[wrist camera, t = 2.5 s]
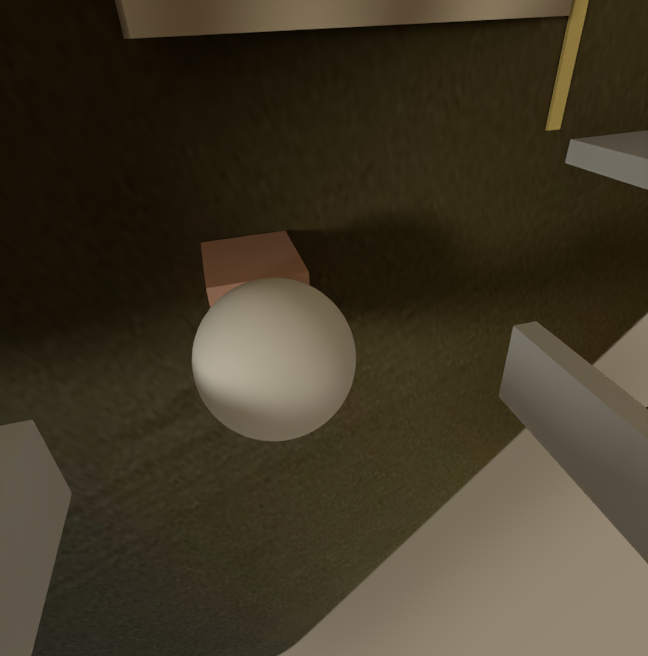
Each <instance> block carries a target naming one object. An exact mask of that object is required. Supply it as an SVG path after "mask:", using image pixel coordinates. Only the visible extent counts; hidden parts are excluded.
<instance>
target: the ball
mask: <svg viewBox="0 0 648 656" xmlns="http://www.w3.org/2000/svg"><path fill="white" fill-rule="evenodd" d="M355 367H356V351H355V344H354V340H353V336H352V332H351V330H350V328H349V325H348V323H347V321H346V319H345V317H344V316H343V314H342V313H341V311H340V310H339V309H338V307H337V306H336V305H335V304H334V303H333V302H332V301H331V300H330V299H329V298H328V297H326V296H325V295H324V294H323V293H322V292H320V291H319V290H317V289H315V288H314V287H312V286H309V285H307V284H305V283H302V282H299V281H296V280H292V279H286V278H264V279H258V280H253V281H250V282H247V283H244V284H242V285H240V286H238V287H236V288H234V289H232V290H230V291H229V292H227V293H226V294H224V295H223V296H222V297H221V298H220V299H218V300H217V301H216V302H215V303H214V305H213V306H212V307H211V308H210V309H209V311H208V312H207V314H206V315H205V316H204V318H203V320H202V322H201V323H200V325H199V327H198V331H197V334H196V337H195V340H194V344H193V350H192V369H193V375H194V381H195V384H196V387H197V389H198V392H199V394H200V396H201V398H202V400H203V402H204V403H205V405H206V406H207V408H208V409H209V410H210V412H211V413H212V414H213V415H214V416H215V417H216V418H217V419H218V420H219V421H220V422H221V423H223V424H224V425H225V426H227V427H228V428H230V429H231V430H233V431H235V432H237V433H239V434H241V435H243V436H246V437H249V438H253V439H258V440H264V441H284V440H289V439H294V438H297V437H301V436H303V435H306V434H308V433H310V432H312V431H314V430H316V429H317V428H319V427H320V426H322V425H323V424H324V423H326V422H327V421H328V420H329V419H330V418H331V417H332V416H333V415H334V414H335V413H336V412H337V410H338V409H339V408H340V407H341V405H342V404H343V402H344V400H345V399H346V397H347V395H348V393H349V391H350V388H351V385H352V382H353V378H354V373H355Z"/></svg>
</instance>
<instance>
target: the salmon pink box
mask: <svg viewBox="0 0 648 656" xmlns="http://www.w3.org/2000/svg"><path fill="white" fill-rule="evenodd" d="M201 252H202V260H203V268H204V276H205V284H206V291H207V295H208V300H209V305H210V308H211V307H212V306H213V305H214V303H215V302H216V301H217V300H218V299H220V298H221V297H222V296H223V295H224V294H226V293H227V292H229V291H230V290H232V289H234V288H236V287H238V286H240V285H242V284H244V283H247V282H250V281H253V280H258V279H264V278H286V279H292V280H296V281H299V282H302V283H305V284H307V285H309V286H310V283H309V271H308V270H307V268H306V266H305V264H304V263H303V261H302V259H301V257H300V256H299V254H298V252H297V250H296V248H295V247H294V245H293V243H292V241H291V240H290V238H289V236H288V234H287V233H286V231H278V232H271V233H264V234H257V235H250V236H243V237H236V238H229V239H222V240H215V241H208V242H201Z"/></svg>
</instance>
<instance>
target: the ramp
mask: <svg viewBox="0 0 648 656" xmlns="http://www.w3.org/2000/svg"><path fill="white" fill-rule="evenodd" d="M572 1H573V0H115V3H116V8H117V12H118V16H119V20H120V24H121V28H122V33H123V37H124V39H133V38H152V37H171V36H190V35H209V34H228V33H247V32H266V31H285V30H304V29H323V28H342V27H361V26H380V25H399V24H419V23H438V22H457V21H476V20H495V19H514V18H533V17H552V16H569V15H570V11H571V6H572Z"/></svg>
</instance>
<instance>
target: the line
mask: <svg viewBox="0 0 648 656" xmlns="http://www.w3.org/2000/svg"><path fill="white" fill-rule="evenodd" d="M588 2H589V0H573V1H572V6H571V11H570V15H569V18H568V23H567V27H566V32H565V37H564V42H563V47H562V51H561V56H560V61H559V66H558V71H557V76H556V80H555V85H554V90H553V95H552V100H551V105H550V109H549V114H548V119H547V124H546V129H545V130H557V129H560V127H561V123H562V118H563V114H564V109H565V105H566V100H567V96H568V91H569V87H570V82H571V78H572V73H573V69H574V64H575V60H576V55H577V51H578V47H579V42H580V38H581V33H582V29H583V24H584V20H585V15H586V11H587V6H588Z"/></svg>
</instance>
